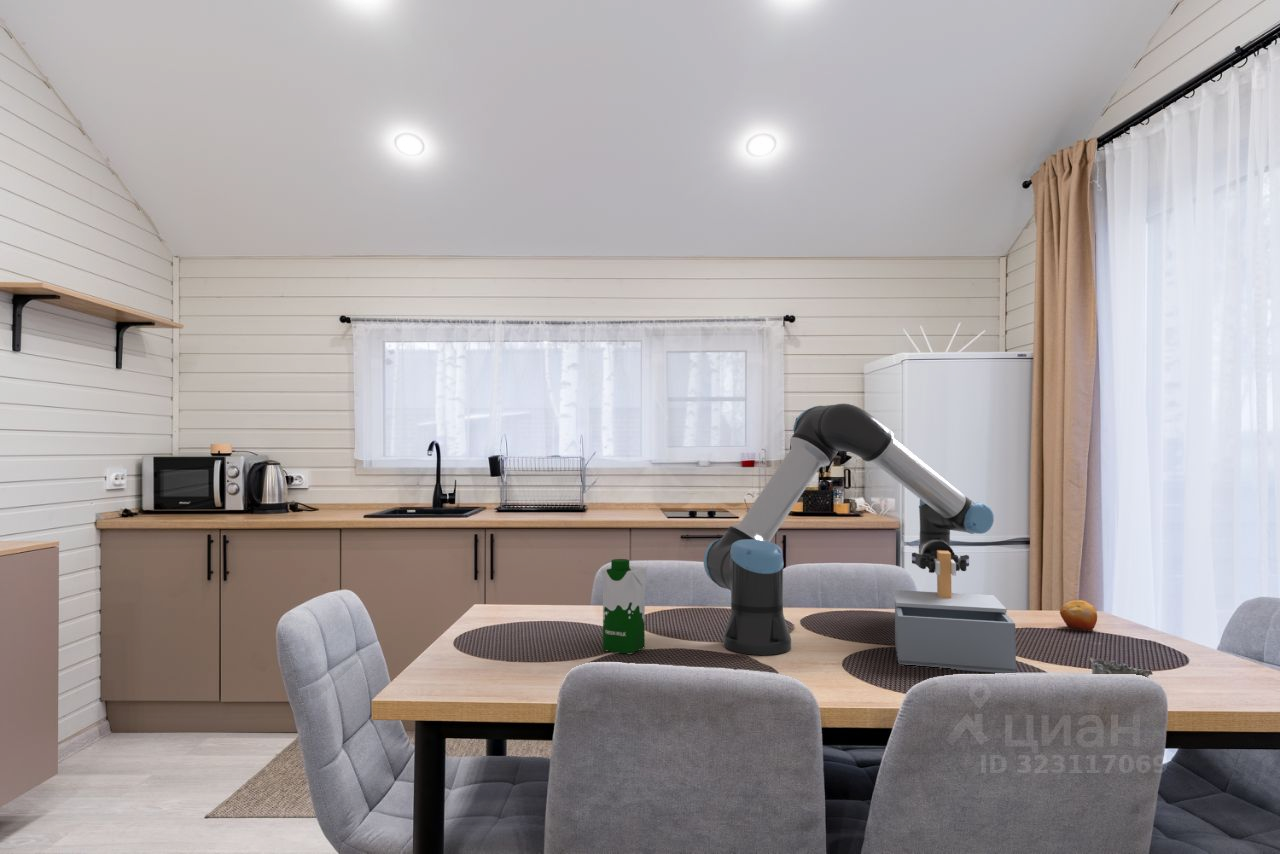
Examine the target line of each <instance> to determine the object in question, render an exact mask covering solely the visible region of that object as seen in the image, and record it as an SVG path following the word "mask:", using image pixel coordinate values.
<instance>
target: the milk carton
mask: <svg viewBox="0 0 1280 854" xmlns="http://www.w3.org/2000/svg"><path fill="white" fill-rule="evenodd" d="M646 577H647V567H643V566H631V565H630V560H629V559H627V558H626V559H625V558H614V559H612V560H611V566H609V567H605V568H603V569H601V578H602V651H603V650H608V651H611V652H610V653H614V652H619V653H618V654H621V653H633V652H635V651H637V652H639V651H640V650H639V649H641V648H642V649H644V648H645V647H646V646H645V645H646V644H645V643H646V641H645V638H646V637H645V635H646V634H645V633H646V632H645V630H646V629H645V624H646V623H645V619H646V618H645V617H646V616H645V615H646V614H645V613H646V610H645V609H646V605H645V604H646V603H645V600H646V598H645V595H646V593H645V592H646V591H645V590H646V589H645V588H646V587H645V586H646ZM643 647H644V648H643ZM642 649H641V650H642ZM638 650H639V651H638ZM635 653H636V652H635Z"/></svg>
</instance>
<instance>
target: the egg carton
mask: <svg viewBox="0 0 1280 854" xmlns="http://www.w3.org/2000/svg"><path fill="white" fill-rule="evenodd" d="M1089 660H1090V663H1091V664H1092V666H1091V669H1092V670H1091V672H1092V673H1091V675H1092V674H1136V675H1142V676H1145V677H1147V678H1149V676H1152V675H1153V671H1152V670H1151V669H1148V668H1144V669H1142V668H1135V667H1129V666H1128V664H1126V663H1124V662H1121V663H1120V664H1118V663H1117V661H1116V660H1112V661H1111V660H1108V659H1107V660H1104V659H1102V658H1100V659H1095V658H1092V657H1089Z"/></svg>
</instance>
